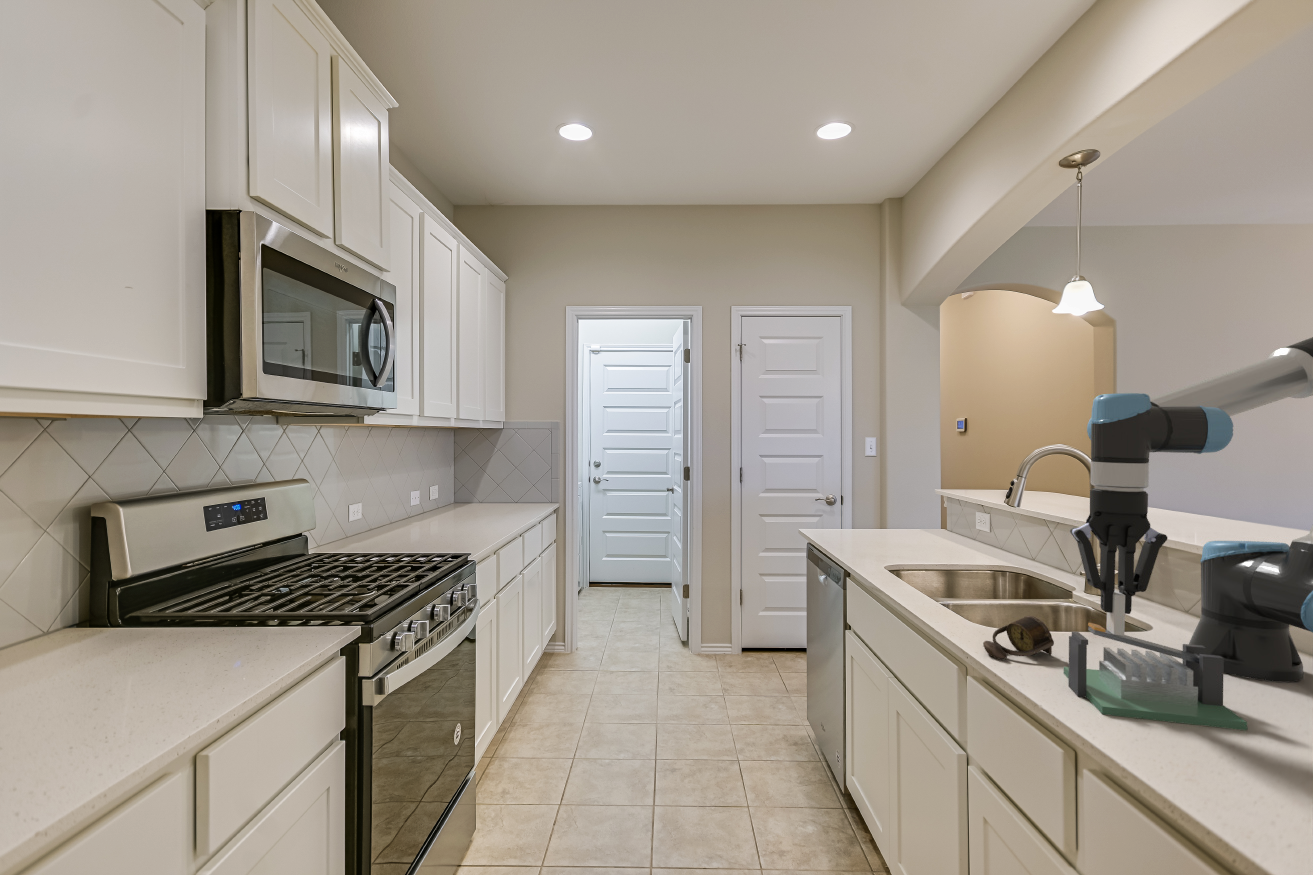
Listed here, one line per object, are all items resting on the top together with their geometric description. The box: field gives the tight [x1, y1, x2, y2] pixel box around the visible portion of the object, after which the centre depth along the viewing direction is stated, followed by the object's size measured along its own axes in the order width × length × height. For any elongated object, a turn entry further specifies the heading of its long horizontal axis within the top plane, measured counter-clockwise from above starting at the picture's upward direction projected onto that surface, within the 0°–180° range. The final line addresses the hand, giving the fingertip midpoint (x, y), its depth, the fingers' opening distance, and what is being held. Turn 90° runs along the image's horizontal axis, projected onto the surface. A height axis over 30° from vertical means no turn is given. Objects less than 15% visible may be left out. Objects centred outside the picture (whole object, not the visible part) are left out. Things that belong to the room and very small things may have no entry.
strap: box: [1087, 622, 1199, 663], centre depth 97 cm, size 16×3×1 cm, turn 74°
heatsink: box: [1098, 646, 1198, 706], centre depth 97 cm, size 10×8×5 cm
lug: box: [1068, 631, 1089, 698], centre depth 100 cm, size 1×4×9 cm, turn 164°
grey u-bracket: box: [1181, 643, 1225, 706], centre depth 95 cm, size 3×6×7 cm, turn 164°
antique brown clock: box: [982, 615, 1055, 661], centre depth 117 cm, size 7×13×10 cm
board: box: [1063, 666, 1248, 731], centre depth 97 cm, size 18×16×1 cm
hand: (1115, 632), depth 98 cm, fingers closed
